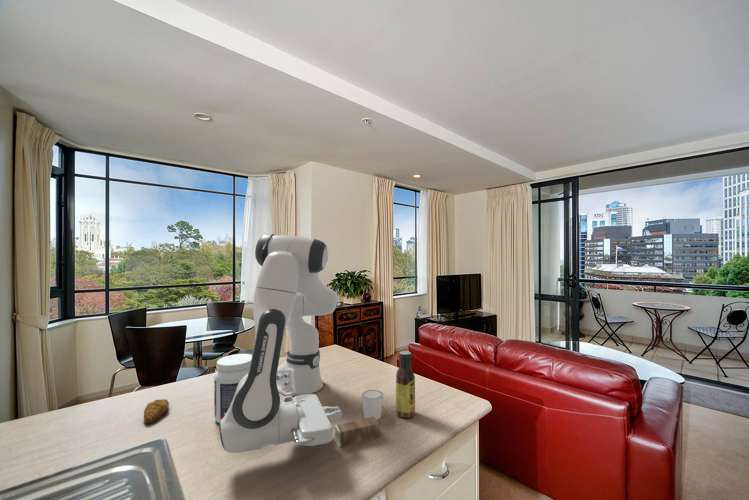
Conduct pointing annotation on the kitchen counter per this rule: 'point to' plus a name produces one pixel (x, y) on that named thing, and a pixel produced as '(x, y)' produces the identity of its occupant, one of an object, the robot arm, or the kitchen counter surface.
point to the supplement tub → (228, 381)
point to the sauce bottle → (405, 387)
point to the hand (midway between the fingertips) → (340, 411)
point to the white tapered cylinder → (372, 403)
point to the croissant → (155, 410)
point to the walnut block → (357, 431)
